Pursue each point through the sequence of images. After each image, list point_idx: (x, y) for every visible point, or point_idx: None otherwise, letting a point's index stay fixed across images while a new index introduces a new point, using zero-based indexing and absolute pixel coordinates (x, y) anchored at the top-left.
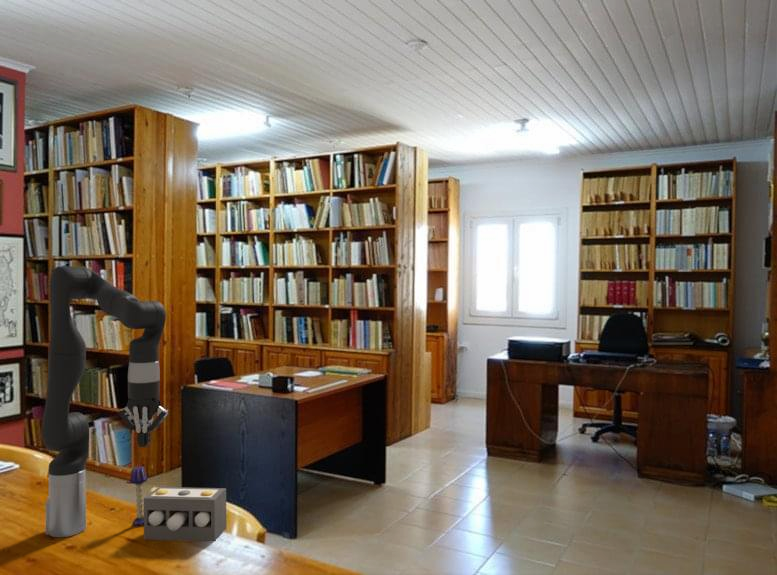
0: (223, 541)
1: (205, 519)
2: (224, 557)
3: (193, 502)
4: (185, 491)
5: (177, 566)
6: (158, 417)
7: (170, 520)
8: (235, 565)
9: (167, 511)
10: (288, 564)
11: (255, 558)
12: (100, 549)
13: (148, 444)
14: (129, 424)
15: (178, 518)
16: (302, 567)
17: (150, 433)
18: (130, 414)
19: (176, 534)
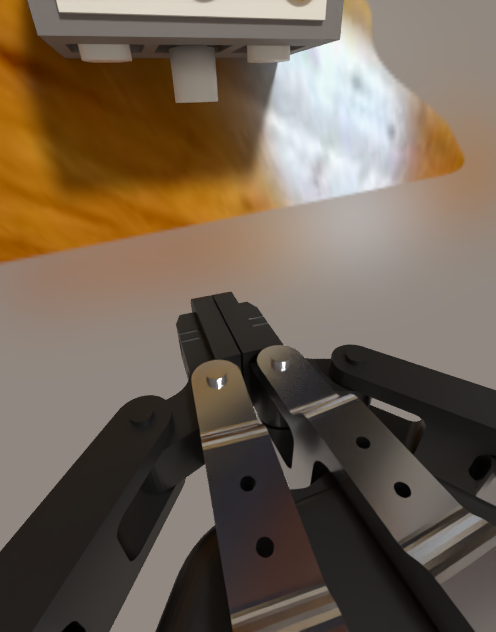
0: (299, 53)
1: (283, 60)
2: (322, 150)
3: (260, 40)
4: None
5: (245, 206)
6: (474, 490)
7: (189, 102)
8: (348, 182)
9: (151, 45)
10: (431, 162)
11: (378, 146)
12: None
13: (230, 292)
14: (139, 521)
15: (214, 95)
16: (450, 170)
17: (281, 343)
18: (44, 626)
19: None
